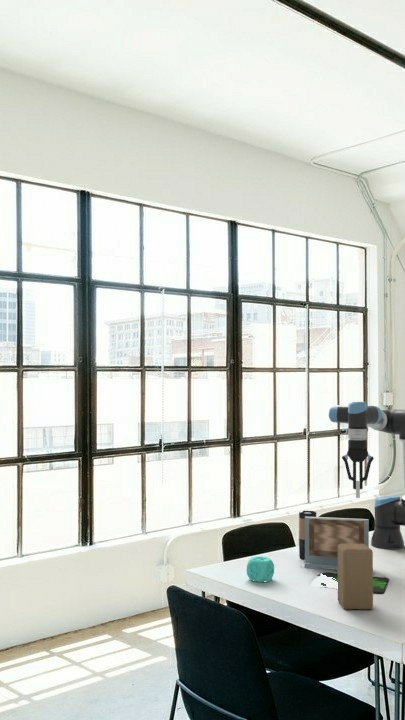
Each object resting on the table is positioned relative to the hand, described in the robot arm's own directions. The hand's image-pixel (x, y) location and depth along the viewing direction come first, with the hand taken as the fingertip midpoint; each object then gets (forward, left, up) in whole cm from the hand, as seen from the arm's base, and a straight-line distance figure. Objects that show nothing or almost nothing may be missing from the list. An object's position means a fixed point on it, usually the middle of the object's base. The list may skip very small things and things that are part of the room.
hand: (357, 497), depth 277 cm
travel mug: (-3, -27, -30) cm, 41 cm away
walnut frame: (+5, -7, -24) cm, 26 cm away
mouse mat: (+16, +7, -30) cm, 35 cm away
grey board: (0, -10, -30) cm, 31 cm away
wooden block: (+39, +24, -30) cm, 55 cm away
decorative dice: (+38, -19, -30) cm, 52 cm away
